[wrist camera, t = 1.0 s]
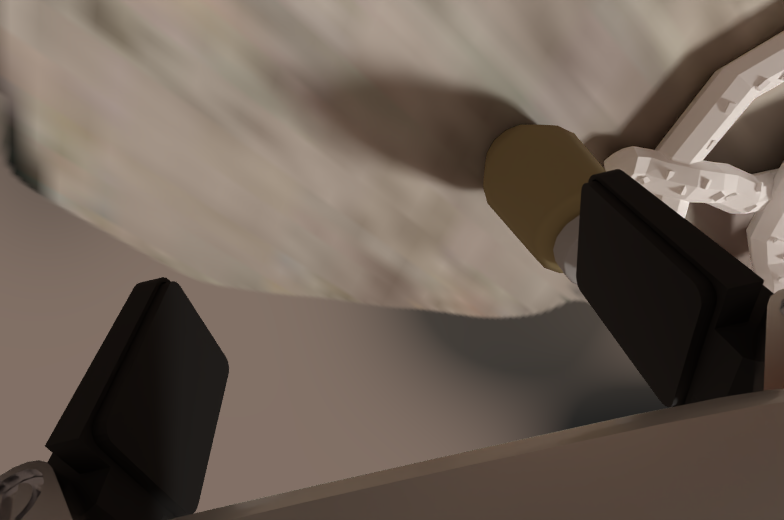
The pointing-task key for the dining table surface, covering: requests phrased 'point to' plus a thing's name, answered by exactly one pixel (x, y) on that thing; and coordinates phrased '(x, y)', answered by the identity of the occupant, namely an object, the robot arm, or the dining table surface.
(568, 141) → the squeeze bottle
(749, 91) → the pretzel
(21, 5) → the dining table surface
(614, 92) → the dining table surface
